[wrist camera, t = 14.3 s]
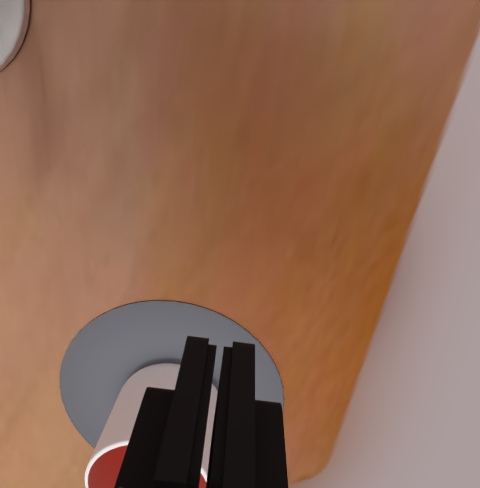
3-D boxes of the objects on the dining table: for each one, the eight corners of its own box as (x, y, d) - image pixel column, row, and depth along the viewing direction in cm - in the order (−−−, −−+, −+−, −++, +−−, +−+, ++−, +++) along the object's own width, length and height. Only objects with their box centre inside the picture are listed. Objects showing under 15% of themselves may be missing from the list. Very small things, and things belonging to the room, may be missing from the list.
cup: (135, 343, 42) (96, 425, 32) (237, 374, 42) (228, 463, 33) (113, 421, 45) (74, 514, 36) (208, 448, 46) (192, 546, 37)
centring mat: (67, 466, 49) (66, 467, 48) (52, 287, 40) (51, 288, 40) (269, 490, 48) (269, 491, 48) (298, 314, 40) (298, 315, 39)
